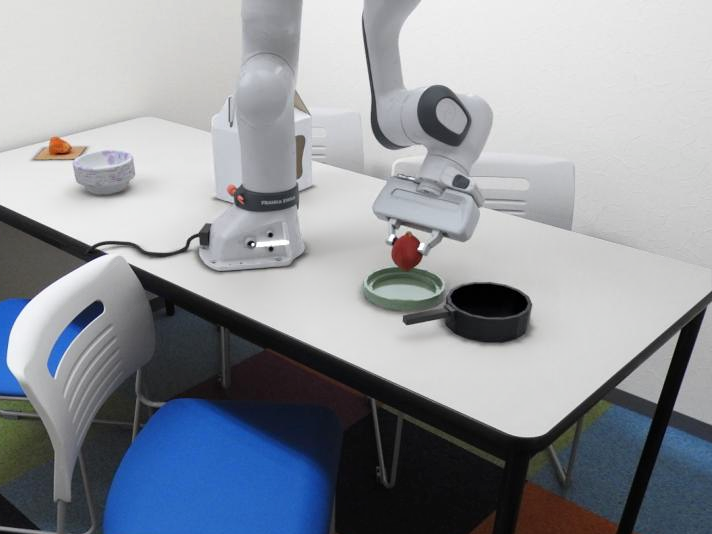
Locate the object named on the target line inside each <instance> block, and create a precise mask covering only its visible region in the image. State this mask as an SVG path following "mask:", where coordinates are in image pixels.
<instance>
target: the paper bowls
mask: <svg viewBox="0 0 712 534" xmlns="http://www.w3.org/2000/svg"><path fill="white" fill-rule="evenodd" d="M72 169H73V173H74V179H75V182H76V183H77V184H78V185H80V186H83V187H84V188H85V189H86V190H87V192H89V193H91V194H94V195H101V196H103V195H106V196H107V195H113V194H118V193H121V192H122V191H124V190H126V189H127V188H128V185H129V184H130V183H129V182H130V181H132V180H133V179H134V178H135V176H136V168H135V162H134V157H133V155H132V154H131V153H129V152H127V151H124V150H115V149H114V150H113V149H112V150H111V149H110V150H105V149H104V150H97V151H91V152H88V153H85V154H82V155H81V154H80V155H79V156H78V157H77V158H76V159H73V161H72Z"/></svg>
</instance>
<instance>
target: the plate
mask: <svg viewBox="0 0 712 534" xmlns="http://www.w3.org/2000/svg"><path fill="white" fill-rule="evenodd" d="M446 286H447V284H446V282H445V279H444V278H443V277H441V275H440V274H438V273H437V272H434V271H432V270H429V269H427V268H423V267H418V266H416V267H414V268H413V269H411V270H410V271H408V272H404V271H403V270H402V269H401V268H399V267H398V266H397V265H390V266H385V267H380V268H377V269H375V270H372V271H370V272H369V273H368V274H366V275H365V277H364V279H363V282H362V291H363V295H364V297H365V298H366V299H367V300H368V301H369V302H371V303H373V304H375V305H377V306H378V307H383V308H385V309H390V310H395V311H419V310H424V309H425V310H426V309H429V308H431V307H433V306H436V305H438V304H440V302H442V301H443V300H444V297H445V294H446Z"/></svg>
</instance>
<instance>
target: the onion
mask: <svg viewBox="0 0 712 534" xmlns="http://www.w3.org/2000/svg"><path fill="white" fill-rule="evenodd" d="M397 238H398V239H397V240H396V242H395V243H394V245H393V246H391V247H392V248H391V252H390V256H391V259H392V262H393V263H394V265H395V266H398V267H399V268H401V269H402V270H403V271H404V272H408V271H410V270H411V269H413V268H414V267H418V265H419V264H420V263H421V262H422V260H423V257H424V256H423V255H420V254H419V253H418V252H417V249H418V248H419V245H420V243H421V241H420V240H419V239H418V237H416V236H415V235H413V233H412V231H410V230H407V231H406V232H405V234H403V235H401V236H400V237H397Z"/></svg>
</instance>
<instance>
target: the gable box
mask: <svg viewBox="0 0 712 534" xmlns="http://www.w3.org/2000/svg"><path fill="white" fill-rule="evenodd" d="M312 120H313V117H312V115H311V113H310V110H309V109H308V108H307V106H306V104H305V102H304V101H303V100H302V98H301V96H300V94H299V93H298V91H297V89H295V93H294V122H295V139H296V182H297V183H298V187H299V192H301V191H303V190H306V189H308V188H311V187H312V186H313V161H312V160H313V121H312ZM210 127H211V143H212V156H213V157H212V158H213V169H214V184H215V197H216V199H217V200H221V201H224V202H228V203H230V204H234V197H233V196H230V195H229V193H228V192H227V187H228V186H229V185H234V186H235V187H236V188H237V189H238V188H239V187H240V185H241V184H242V164H241V146H240V139H239V133H238V126H237V118H236V109H235V98H234V93H232V94H230V95H229V96H228V97H227V99H226V100H225V102H224V104H223V105H222V107H221V109H220V110H219V113H218V115H217V116H216V118H215V120H214V121H213V124H212V125H211V126H210Z"/></svg>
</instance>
